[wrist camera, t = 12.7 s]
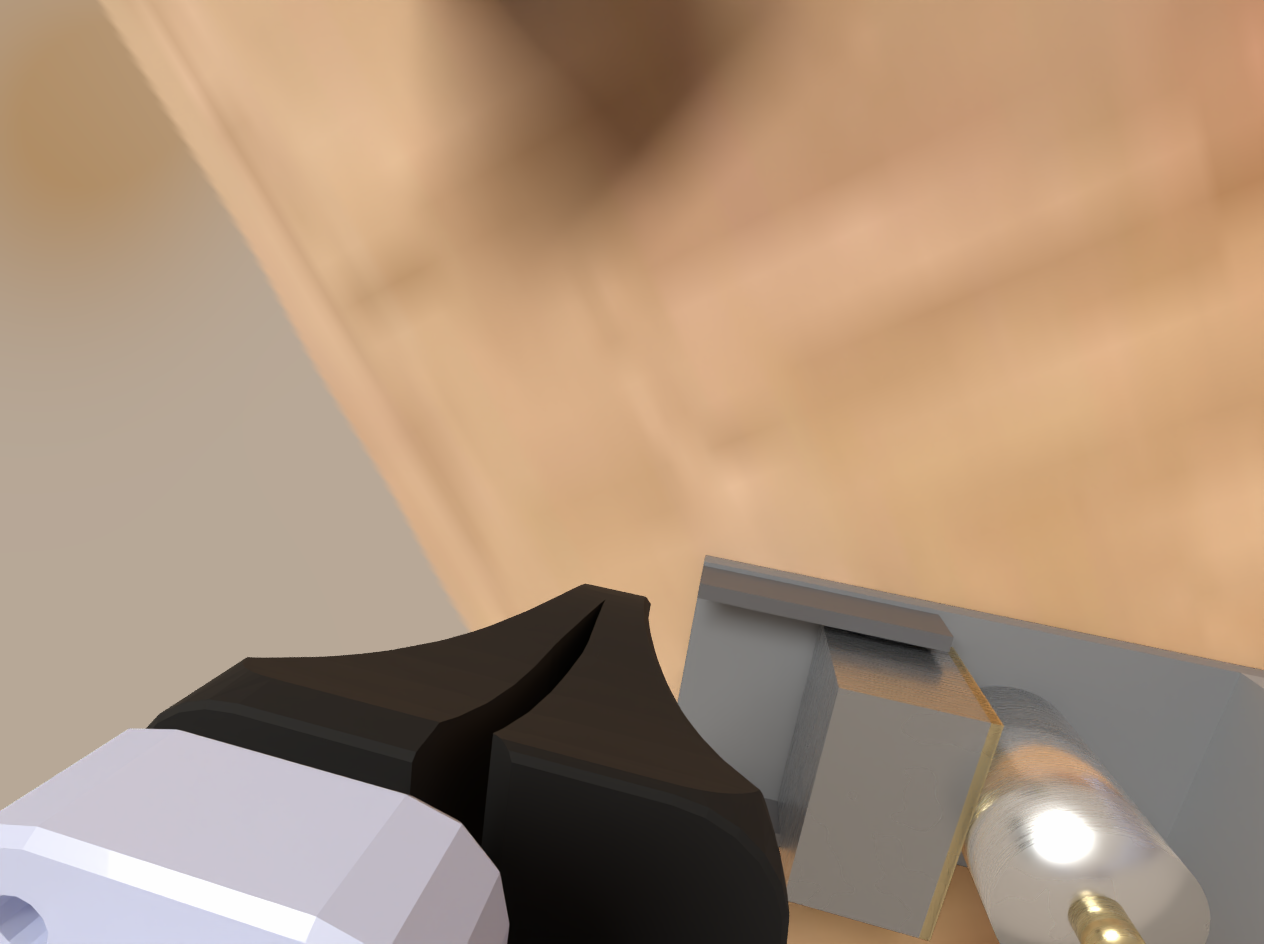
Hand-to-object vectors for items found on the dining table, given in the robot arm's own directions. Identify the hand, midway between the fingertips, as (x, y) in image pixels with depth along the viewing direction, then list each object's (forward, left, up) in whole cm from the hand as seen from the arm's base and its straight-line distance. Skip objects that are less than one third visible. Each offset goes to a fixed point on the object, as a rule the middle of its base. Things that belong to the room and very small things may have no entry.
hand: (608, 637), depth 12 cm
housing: (-12, +6, -9) cm, 16 cm away
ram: (-8, +6, -9) cm, 13 cm away
